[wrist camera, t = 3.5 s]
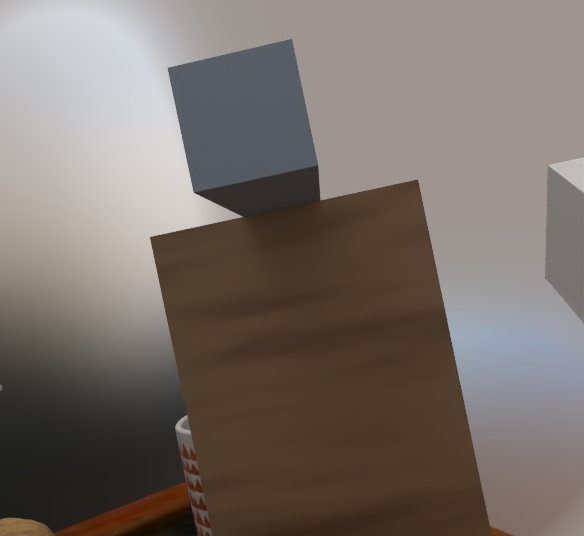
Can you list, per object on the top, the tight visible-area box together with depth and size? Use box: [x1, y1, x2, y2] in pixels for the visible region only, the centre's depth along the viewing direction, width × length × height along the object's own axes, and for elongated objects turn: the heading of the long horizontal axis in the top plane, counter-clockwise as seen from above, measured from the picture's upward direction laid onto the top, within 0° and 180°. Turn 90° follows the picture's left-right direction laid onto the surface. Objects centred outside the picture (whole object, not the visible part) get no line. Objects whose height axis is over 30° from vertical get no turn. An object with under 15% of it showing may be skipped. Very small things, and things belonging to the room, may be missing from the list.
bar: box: [168, 39, 320, 217], centre depth 32 cm, size 30×4×4 cm, turn 177°
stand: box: [150, 180, 492, 536], centre depth 38 cm, size 20×14×30 cm
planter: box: [175, 415, 212, 536], centre depth 62 cm, size 14×14×13 cm
